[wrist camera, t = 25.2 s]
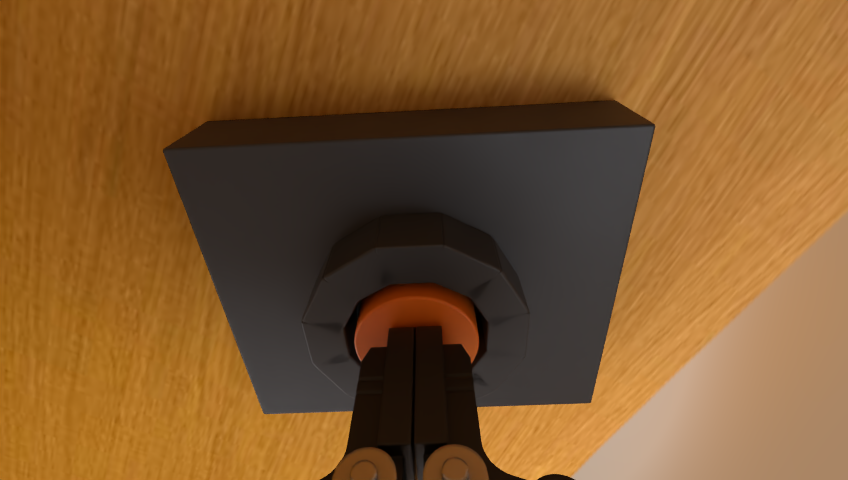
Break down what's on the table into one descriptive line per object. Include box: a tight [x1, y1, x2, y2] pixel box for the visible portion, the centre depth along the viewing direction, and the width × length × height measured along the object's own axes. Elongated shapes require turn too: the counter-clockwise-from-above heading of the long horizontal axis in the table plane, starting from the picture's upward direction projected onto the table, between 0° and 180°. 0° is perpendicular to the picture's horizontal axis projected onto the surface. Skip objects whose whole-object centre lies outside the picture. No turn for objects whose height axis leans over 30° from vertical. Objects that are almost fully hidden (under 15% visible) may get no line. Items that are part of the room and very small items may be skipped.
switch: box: [354, 283, 479, 363], centre depth 13 cm, size 4×4×2 cm
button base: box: [163, 100, 655, 414], centre depth 14 cm, size 13×11×4 cm
